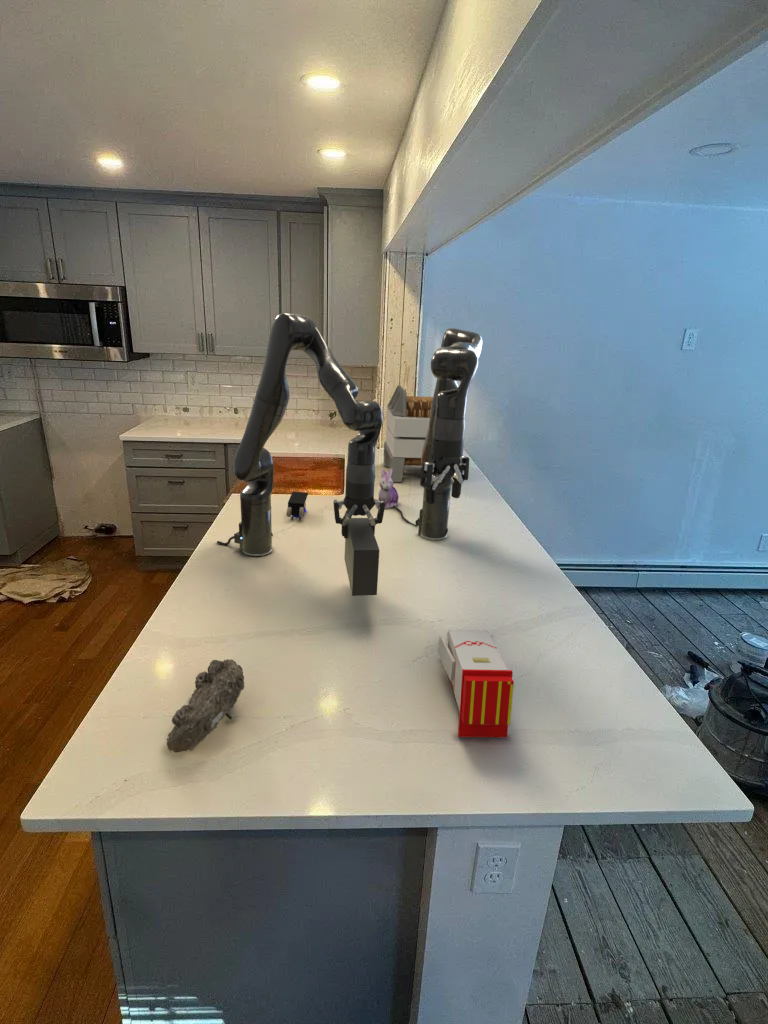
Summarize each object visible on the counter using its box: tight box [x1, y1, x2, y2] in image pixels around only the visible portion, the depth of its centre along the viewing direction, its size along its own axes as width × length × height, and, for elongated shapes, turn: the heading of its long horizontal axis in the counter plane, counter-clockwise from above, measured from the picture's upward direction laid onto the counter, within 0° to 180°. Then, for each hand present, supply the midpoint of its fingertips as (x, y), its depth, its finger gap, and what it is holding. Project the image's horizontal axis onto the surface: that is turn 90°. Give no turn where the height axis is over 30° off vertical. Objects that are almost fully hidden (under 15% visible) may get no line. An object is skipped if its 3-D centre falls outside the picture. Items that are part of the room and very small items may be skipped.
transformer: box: [383, 384, 454, 484], centre depth 268 cm, size 34×33×41 cm
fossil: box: [166, 658, 245, 754], centre depth 106 cm, size 22×10×15 cm
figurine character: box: [286, 491, 309, 522], centre depth 211 cm, size 7×8×15 cm
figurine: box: [378, 467, 399, 509], centre depth 226 cm, size 9×10×15 cm
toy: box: [437, 628, 515, 738], centre depth 117 cm, size 12×13×30 cm
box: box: [344, 517, 380, 597], centre depth 148 cm, size 21×6×12 cm, turn 9°
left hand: (357, 537), depth 154 cm, fingers closed on box, 6 cm apart
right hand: (443, 500), depth 140 cm, fingers open, 8 cm apart
